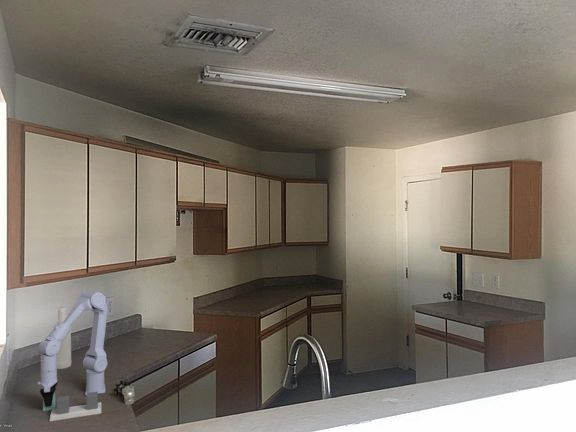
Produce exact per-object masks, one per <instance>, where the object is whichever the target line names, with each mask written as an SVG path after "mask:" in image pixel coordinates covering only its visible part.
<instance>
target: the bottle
mask: <svg viewBox="0 0 576 432" xmlns="http://www.w3.org/2000/svg"><path fill="white" fill-rule="evenodd" d="M67 310H68V309H67V307H65V306H62V307H58V308H57V314H58V315H57V317H58V318H57V323H56V324H55V325H57V324H59V323H62V322H63V321H64V320H65V318H66V317H67ZM70 367H72V327H71V326H70V332H69V333H68V335H67V336H66V337H65V339H64V340H63V341H62V342H61V345H60V349H59V351H58V352H57V370H63V369H68V368H70Z"/></svg>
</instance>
